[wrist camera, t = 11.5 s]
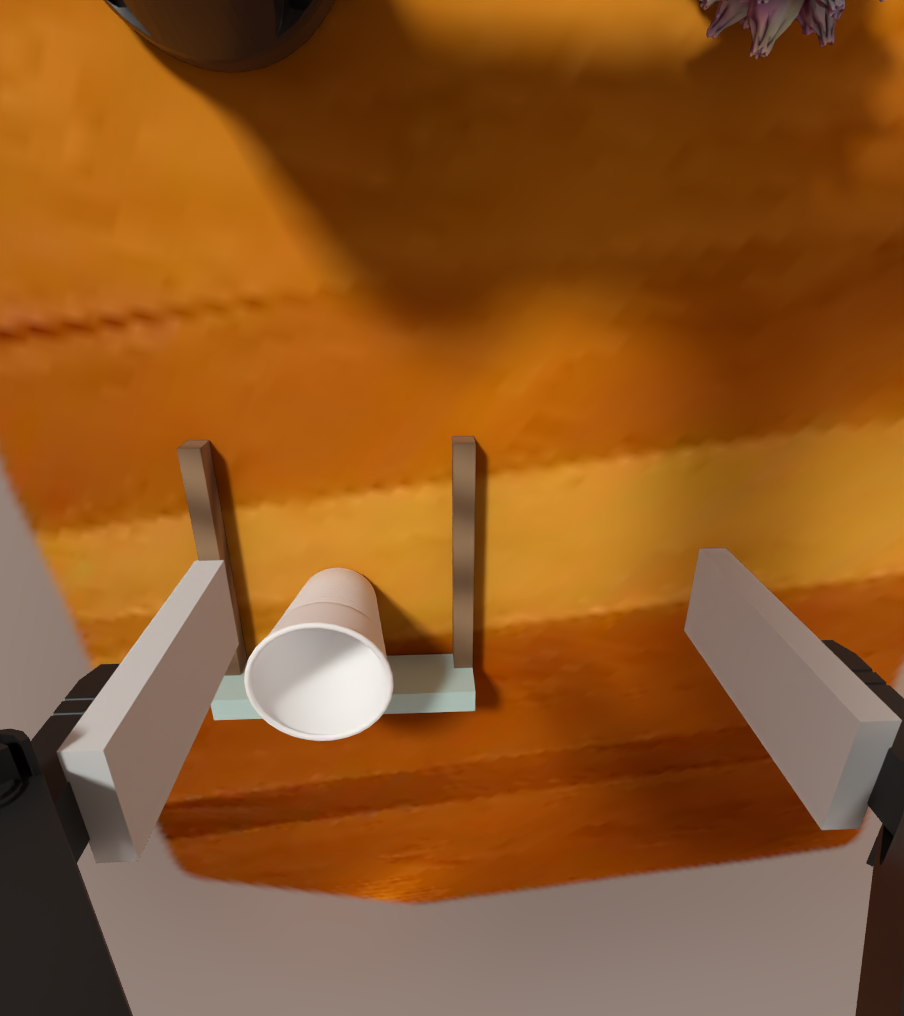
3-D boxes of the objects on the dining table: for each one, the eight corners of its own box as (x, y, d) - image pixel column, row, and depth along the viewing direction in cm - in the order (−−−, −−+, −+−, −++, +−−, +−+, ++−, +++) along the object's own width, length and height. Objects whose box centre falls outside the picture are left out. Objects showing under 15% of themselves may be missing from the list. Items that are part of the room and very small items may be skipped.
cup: (369, 661, 52) (357, 759, 42) (262, 620, 50) (222, 714, 40) (418, 573, 49) (418, 656, 39) (306, 525, 47) (275, 601, 37)
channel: (187, 440, 44) (176, 449, 42) (473, 436, 45) (475, 444, 43) (232, 679, 52) (225, 694, 51) (470, 671, 53) (472, 686, 52)
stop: (228, 660, 52) (210, 700, 47) (470, 653, 53) (475, 691, 48) (232, 679, 52) (214, 720, 48) (470, 671, 53) (475, 710, 49)
